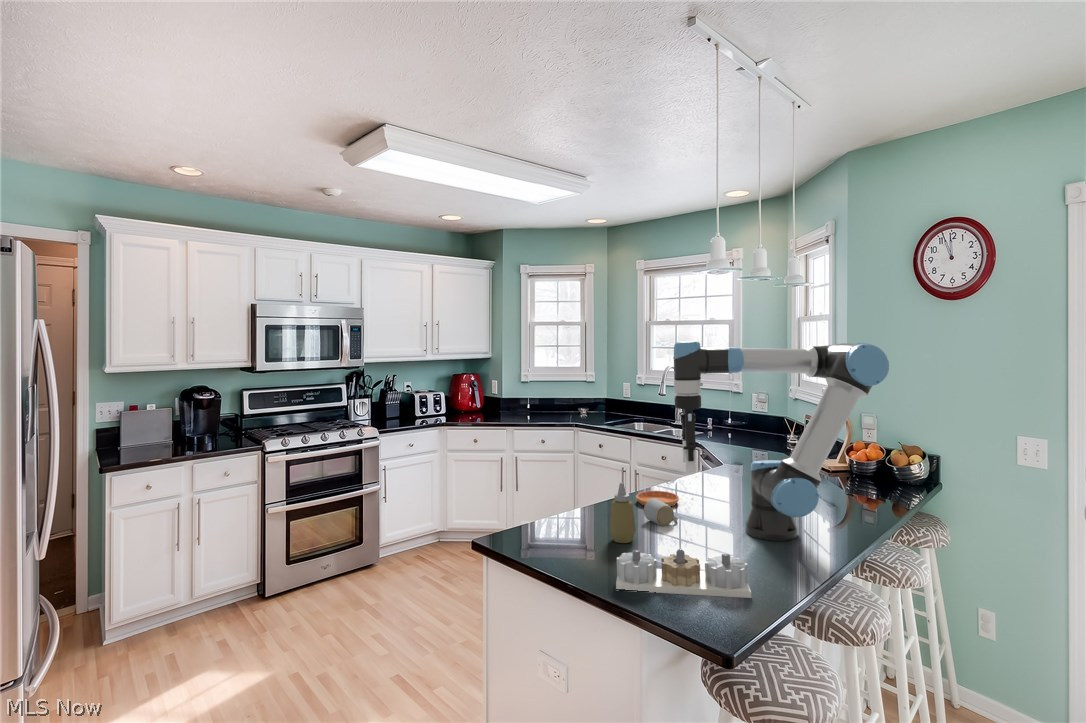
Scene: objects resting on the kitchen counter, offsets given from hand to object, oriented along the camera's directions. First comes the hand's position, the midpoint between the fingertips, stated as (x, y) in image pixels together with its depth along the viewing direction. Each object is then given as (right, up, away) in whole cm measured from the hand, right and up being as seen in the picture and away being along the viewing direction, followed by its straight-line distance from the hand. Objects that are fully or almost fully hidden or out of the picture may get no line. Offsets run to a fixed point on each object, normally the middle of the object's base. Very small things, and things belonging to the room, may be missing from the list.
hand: (689, 467), depth 163 cm
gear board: (-8, -26, -22) cm, 35 cm away
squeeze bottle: (-18, -25, +11) cm, 33 cm away
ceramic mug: (-2, -24, +27) cm, 36 cm away
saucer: (+1, -24, +50) cm, 55 cm away
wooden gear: (-8, -24, -22) cm, 34 cm away
